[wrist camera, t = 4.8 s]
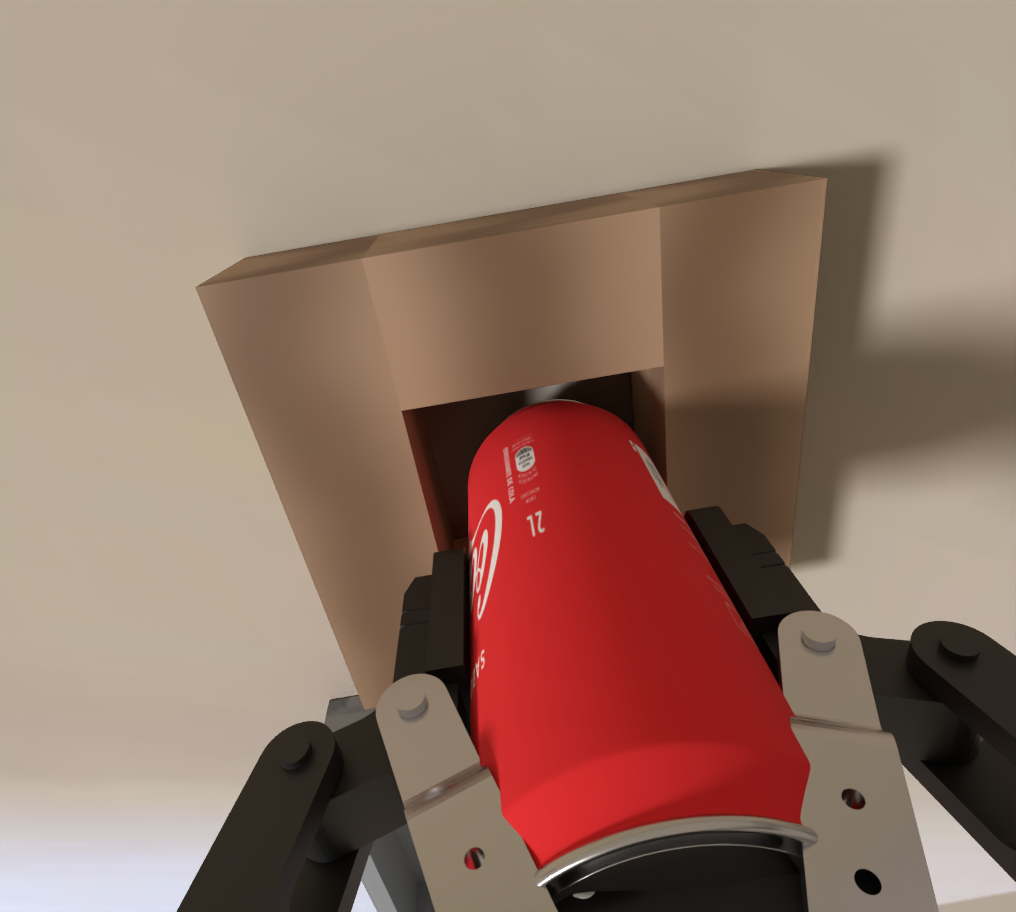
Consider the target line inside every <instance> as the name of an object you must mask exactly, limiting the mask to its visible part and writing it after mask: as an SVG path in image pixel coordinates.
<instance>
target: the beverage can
mask: <svg viewBox="0 0 1016 912" xmlns="http://www.w3.org/2000/svg"><path fill="white" fill-rule="evenodd" d="M468 532H469V613H470V694H471V741H472V743H473V745H474V748H475V750H476V752H477V754H478V756H479V759H480V766H481V767H482V766H484V765H486V766H487V767H488V769H489V771H490V773H491V774H492V776H493V778H494V780H495V783H496V785H497V787H498V789H499V791H500V799H501V812H502V815H503V817H504V818H505V819H506V820H507V822H508V823H509V824H510V825H511V826H512V827H513V828H514V829H515V830H516V832H517V833H518V834H519V835H520V836H521V837H522V839H523V841H524V843H525V845H526V847H527V849H528V851H529V853H530V855H531V857H532V859H533V861H534V863H535V866H536V868H537V871H536V872H535V875H534V880H535V883H536V885H537V886H539V887H544V886H546V888H547V890H548V893H549V895H550V897H551V899H552V901H553V903H554V905H555V904H557V903H558V902H560V901H561V900H563V899H565V898H567V897H569V896H572V895H573V896H574V897H577V898H580V899H586V898H589V897H591V896H592V895H594V893H595V892H604V891H668V890H676V889H684V888H693V887H701V886H710V885H717V884H725V883H732V882H740V881H747V880H754V879H761V878H768V877H775V876H781V875H788V874H794V873H799V864H800V851H799V843H798V841H800V842H803V843H807V844H811V845H813V844H816V843H817V842H818V836H817V834H816V832H815V831H814V830H813V829H811V828H809V827H806V826H804V825H803V824H802V823H801V819H800V817H801V809H802V804H803V799H804V795H805V790H806V786H807V782H808V778H809V774H810V769H811V766H810V762H809V760H808V758H807V757H806V755H805V753H804V751H803V749H802V747H801V745H800V744H799V742H798V740H797V738H796V736H795V734H794V733H793V731H792V729H791V725H790V720H789V717H795V718H796V716H795V714H794V713H793V711H792V709H791V707H790V705H789V704H788V702H787V700H786V698H785V697H784V695H783V692H782V690H781V688H780V686H779V684H778V683H777V681H776V679H775V677H774V676H773V674H772V672H771V670H770V668H769V667H768V665H767V663H766V661H765V660H764V658H763V656H762V654H761V653H760V651H759V649H758V647H757V645H756V644H755V642H754V640H753V638H752V637H751V635H750V633H749V631H748V630H747V628H746V626H745V624H744V623H743V621H742V619H741V617H740V615H739V614H738V612H737V610H736V608H735V607H734V605H733V603H732V601H731V600H730V598H729V596H728V594H727V592H726V591H725V589H724V587H723V585H722V584H721V582H720V580H719V578H718V577H717V575H716V573H715V571H714V570H713V568H712V566H711V564H710V562H709V561H708V559H707V557H706V555H705V554H704V552H703V550H702V548H701V547H700V545H699V543H698V541H697V539H696V538H695V536H694V534H693V532H692V531H691V529H690V527H689V525H688V524H687V522H686V520H685V518H684V517H683V515H682V513H681V511H680V509H679V508H678V506H677V504H676V502H675V501H674V499H673V497H672V495H671V494H670V492H669V490H668V488H667V486H666V485H665V483H664V481H663V479H662V478H661V476H660V474H659V472H658V471H657V469H656V467H655V465H654V464H653V462H652V460H651V458H650V456H649V455H648V453H647V451H646V449H645V448H644V446H643V444H642V442H641V441H640V439H639V438H638V436H637V435H636V433H635V432H634V431H633V430H632V429H631V428H630V427H629V426H628V425H627V424H626V423H625V422H624V421H623V420H621V419H620V418H618V417H617V416H615V415H614V414H612V413H610V412H608V411H606V410H604V409H601V408H599V407H596V406H592V405H588V404H585V403H582V402H578V401H574V400H566V399H552V400H544V401H540V402H536V403H532V404H530V405H527V406H525V407H523V408H521V409H519V410H517V411H515V412H514V413H512V414H511V415H509V416H508V417H507V418H505V419H504V420H503V421H502V422H501V423H500V424H499V425H498V426H497V427H496V429H495V430H493V431H492V433H491V434H490V435H489V436H488V437H487V438H486V439H485V441H484V442H483V443H482V445H481V446H480V448H479V449H478V451H477V453H476V455H475V457H474V459H473V462H472V465H471V468H470V472H469V478H468Z"/></svg>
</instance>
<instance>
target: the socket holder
mask: <svg viewBox="0 0 1016 912" xmlns="http://www.w3.org/2000/svg"><path fill="white" fill-rule="evenodd" d="M826 188H827V178H823V177H815V176H807V175H799V174H790V173H782V172H774V171H766V170H758V169H756V170H750V171H744V172H739V173H733V174H727V175H721V176H715V177H710V178H704V179H698V180H692V181H686V182H681V183H675V184H669V185H663V186H658V187H652V188H646V189H640V190H634V191H629V192H623V193H617V194H611V195H606V196H600V197H594V198H588V199H582V200H577V201H571V202H565V203H559V204H554V205H548V206H542V207H536V208H530V209H525V210H519V211H513V212H507V213H502V214H496V215H490V216H484V217H478V218H473V219H467V220H461V221H455V222H450V223H444V224H438V225H432V226H426V227H421V228H415V229H409V230H403V231H398V232H392V233H386V234H380V235H374V236H369V237H363V238H357V239H351V240H345V241H340V242H334V243H328V244H322V245H317V246H311V247H305V248H299V249H293V250H288V251H282V252H276V253H270V254H265V255H259V256H253V257H247V258H244V259H242V260H241V261H239V262H237V263H236V264H234V265H232V266H230V267H229V268H227V269H225V270H224V271H222V272H220V273H219V274H217V275H215V276H214V277H212V278H210V279H209V280H207V281H205V282H204V283H202V284H200V285H198V286H197V287H196V290H197V292H198V295H199V297H200V300H201V302H202V305H203V307H204V310H205V312H206V315H207V317H208V320H209V322H210V325H211V327H212V330H213V332H214V335H215V337H216V340H217V342H218V345H219V347H220V350H221V352H222V355H223V357H224V360H225V362H226V365H227V367H228V370H229V372H230V375H231V377H232V380H233V382H234V385H235V387H236V390H237V392H238V395H239V397H240V400H241V402H242V405H243V407H244V410H245V412H246V415H247V417H248V420H249V422H250V425H251V427H252V430H253V432H254V435H255V437H256V440H257V442H258V445H259V447H260V450H261V452H262V455H263V457H264V460H265V462H266V465H267V467H268V470H269V472H270V475H271V477H272V480H273V482H274V485H275V487H276V490H277V492H278V495H279V497H280V500H281V502H282V505H283V507H284V510H285V512H286V515H287V517H288V520H289V522H290V525H291V527H292V530H293V532H294V535H295V537H296V540H297V542H298V545H299V547H300V550H301V552H302V555H303V557H304V560H305V562H306V565H307V567H308V570H309V572H310V574H311V577H312V579H313V582H314V584H315V587H316V589H317V592H318V594H319V597H320V599H321V602H322V604H323V607H324V609H325V612H326V614H327V617H328V619H329V622H330V624H331V627H332V629H333V632H334V634H335V637H336V639H337V642H338V644H339V647H340V649H341V652H342V654H343V657H344V659H345V662H346V664H347V667H348V669H349V672H350V674H351V677H352V679H353V682H354V684H355V687H356V689H357V692H358V694H359V697H360V699H361V702H362V704H363V707H364V709H365V710H366V709H372V708H376V707H377V704H378V701H379V699H380V697H381V696H382V694H383V693H384V692H385V690H386V689H387V688H388V687H389V686H391V685H392V683H393V678H394V670H395V662H396V654H397V646H398V638H399V630H400V629H401V627H400V623H401V615H402V607H403V599H404V593H405V592H406V590H407V589H408V587H409V586H410V584H411V583H412V581H413V580H414V578H415V577H420V576H426V575H432V566H433V554H434V552H439V551H445V550H451V549H457V548H463V547H465V549H466V552H467V556H468V560H469V537H463V538H457V539H454V538H453V534H452V530H451V526H450V522H449V518H448V514H447V510H446V505H445V501H444V497H443V493H442V489H441V485H440V481H439V477H438V473H437V468H436V464H435V460H434V456H433V452H432V448H431V444H430V440H429V436H428V431H427V427H426V423H425V419H424V415H423V411H422V407H427V406H433V405H439V404H445V403H451V402H456V401H462V400H468V399H474V398H480V397H486V396H491V395H497V394H503V393H509V392H515V391H521V390H527V389H532V388H538V387H544V386H550V385H556V384H562V383H568V382H573V381H579V380H585V379H591V378H597V377H603V376H609V375H614V374H620V373H626V372H631V380H632V398H633V416H634V432H635V433H636V435H637V436H638V438H639V439H640V441H641V442H642V444H643V446H644V448H645V449H646V451H647V453H648V455H649V456H650V458H651V460H652V462H653V464H654V465H655V467H656V469H657V471H658V472H659V474H660V476H661V478H662V479H663V481H664V483H665V485H666V486H667V488H668V490H669V492H670V494H671V495H672V497H673V499H674V501H675V502H676V504H677V506H678V508H679V509H680V511H681V513H682V515H683V517H684V514H685V511H687V510H693V509H699V508H705V507H711V506H719V507H720V508H721V509H722V511H723V512H724V514H725V515H726V517H727V518H728V519H729V521H730V522H731V524H732V525H736V524H742V523H746V524H748V525H750V526H751V527H753V528H754V529H756V530H757V531H759V532H761V533H762V534H764V535H765V536H766V538H767V539H768V540H769V542H770V543H771V544H772V546H773V547H774V549H775V550H776V553H778V554H779V555H780V557H781V558H782V559H783V561H784V562H785V565H786V566H788V567H789V569H790V561H791V550H792V540H793V530H794V519H795V509H796V499H797V488H798V478H799V468H800V457H801V447H802V436H803V426H804V416H805V405H806V395H807V385H808V374H809V364H810V354H811V343H812V333H813V322H814V312H815V302H816V291H817V281H818V271H819V260H820V250H821V240H822V229H823V219H824V208H825V198H826Z"/></svg>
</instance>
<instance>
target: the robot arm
mask: <svg viewBox="0 0 1016 912" xmlns="http://www.w3.org/2000/svg"><path fill="white" fill-rule="evenodd" d="M684 518H685V520H686V522H687V524H688V525H689V527H690V529H691V531H692V532H693V534H694V536H695V538H696V539H697V541H698V543H699V545H700V547H701V548H702V550H703V552H704V554H705V555H706V557H707V559H708V561H709V562H710V564H711V566H712V568H713V570H714V571H715V573H716V575H717V577H718V578H719V580H720V582H721V584H722V585H723V587H724V589H725V591H726V592H727V594H728V596H729V598H730V600H731V601H732V603H733V605H734V607H735V608H736V610H737V612H738V614H739V615H740V617H741V619H742V621H743V623H744V624H745V626H746V628H747V630H748V631H749V633H750V635H751V637H752V638H753V640H754V642H755V644H756V645H757V647H758V649H759V651H760V653H761V654H762V656H763V658H764V660H765V661H766V663H767V665H768V667H769V668H770V670H771V672H772V674H773V676H774V677H775V679H776V681H777V683H778V684H779V686H780V688H781V690H782V692H783V695H784V697H785V698H786V700H787V702H788V704H789V705H790V707H791V709H792V711H793V713H794V714H795V716H796V718H795V717H789V720H790V725H791V729H792V731H793V733H794V734H795V736H796V738H797V740H798V742H799V744H800V745H801V747H802V749H803V751H804V753H805V755H806V757H807V758H808V760H809V762H810V766H811V769H810V774H809V778H808V782H807V786H806V790H805V795H804V799H803V804H802V809H801V817H800V819H801V823H802V824H803V825H804V826H806V827H809V828H811V829H813V830H814V831H815V832H816V834H817V836H818V842H817V843H816V844H813V845H811V844H807V843H803V842H800V841H798V843H799V851H800V864H799V873H794V874H788V875H781V876H775V877H768V878H761V879H754V880H747V881H740V882H732V883H725V884H717V885H710V886H701V887H693V888H684V889H676V890H668V891H604V892H595V893H594V895H592V896H591V897H589V898H586V899H580V898H577V897H574V896H573V895H572V896H569V897H567V898H565V899H563V900H561V901H560V902H558V903H557V904H555V905H554V903H553V901H552V899H551V897H550V895H549V893H548V890H547V888H546V886H544V887H539V886H537V885H536V883H535V880H534V875H535V872H536V871H537V868H536V866H535V863H534V861H533V859H532V857H531V855H530V853H529V851H528V849H527V847H526V845H525V843H524V841H523V839H522V837H521V836H520V835H519V834H518V833H517V832H516V830H515V829H514V828H513V827H512V826H511V825H510V824H509V823H508V822H507V820H506V819H505V818H504V817H503V815H502V812H501V799H500V791H499V789H498V787H497V785H496V783H495V780H494V778H493V776H492V774H491V773H490V771H489V769H488V767H487V766H486V765H484V766H482V767H481V766H480V759H479V756H478V754H477V752H476V750H475V748H474V745H473V743H472V741H471V694H470V613H469V560H468V556H467V552H466V549H465V547H463V548H457V549H451V550H445V551H439V552H434V554H433V566H432V575H426V576H420V577H415V578H414V580H413V581H412V583H411V584H410V586H409V587H408V589H407V590H406V592H405V593H404V599H403V607H402V615H401V623H400V627H401V629H400V630H399V638H398V646H397V654H396V662H395V670H394V678H393V683H392V685H391V686H389V687H388V688H387V689H386V690H385V692H384V693H383V694H382V696H381V697H380V699H379V701H378V704H377V707H376V710H374V711H373V712H372V713H371V714H369V715H368V716H366V717H364V718H362V719H361V720H359V721H356V722H354V723H352V724H350V725H348V726H346V727H343V728H341V729H339V730H337V731H335V732H332V731H331V729H330V728H329V727H328V726H327V725H325V724H323V723H320V722H316V721H307V722H302V723H298V724H295V725H293V726H291V727H289V728H287V729H285V730H284V731H282V732H281V733H279V734H278V735H277V736H276V737H275V738H274V739H273V740H272V741H271V742H270V743H269V744H268V745H267V746H266V748H265V749H264V751H263V753H262V754H261V756H260V758H259V760H258V762H257V764H256V765H255V767H254V769H253V771H252V773H251V775H250V777H249V778H248V780H247V782H246V784H245V786H244V788H243V789H242V791H241V793H240V795H239V797H238V799H237V801H236V802H235V804H234V806H233V808H232V810H231V812H230V814H229V815H228V817H227V819H226V821H225V823H224V825H223V827H222V828H221V830H220V832H219V834H218V836H217V838H216V840H215V841H214V843H213V845H212V847H211V849H210V851H209V853H208V854H207V856H206V858H205V860H204V862H203V864H202V866H201V867H200V869H199V871H198V873H197V875H196V877H195V878H194V880H193V882H192V884H191V886H190V888H189V890H188V891H187V893H186V895H185V897H184V899H183V901H182V903H181V904H180V906H179V908H178V910H177V912H351V909H352V906H353V903H354V900H355V897H356V894H357V891H358V888H359V885H360V882H361V879H362V876H363V872H364V869H365V866H366V863H367V860H368V857H369V854H370V851H371V848H372V845H373V841H375V840H377V839H379V838H381V837H383V836H384V835H386V834H388V833H390V832H392V831H394V830H396V829H398V828H400V827H402V826H404V825H406V824H408V827H409V830H410V833H411V836H412V839H413V843H414V846H415V849H416V852H417V855H418V858H419V862H420V865H421V868H422V871H423V874H424V877H425V881H426V884H427V887H428V890H429V893H430V896H431V900H432V903H433V906H434V909H435V912H939V910H938V906H937V902H936V898H935V894H934V890H933V886H932V882H931V878H930V875H929V871H928V867H927V863H926V859H925V855H924V851H923V847H922V843H921V839H920V835H919V831H918V827H917V823H916V819H915V815H914V811H913V807H912V803H911V799H910V795H909V791H908V787H907V783H906V779H905V776H904V772H903V768H902V765H903V766H904V767H905V768H906V769H907V770H908V771H909V772H910V773H911V774H912V775H913V776H914V777H915V778H916V779H917V780H918V781H919V782H920V783H921V784H922V785H923V786H924V787H925V788H926V789H927V790H928V791H929V793H930V794H931V795H932V796H933V797H934V798H935V799H936V800H937V801H938V802H939V803H940V804H941V805H942V806H943V807H944V808H945V809H946V810H947V811H948V812H949V813H950V814H951V815H952V816H953V817H954V818H955V820H956V821H957V822H958V823H959V824H960V825H961V826H962V827H963V828H964V829H965V830H966V831H967V832H968V833H969V834H970V835H971V836H972V837H973V838H974V839H975V840H976V841H977V842H978V843H979V844H980V845H981V846H982V848H983V849H984V850H985V851H986V852H987V853H988V854H989V855H990V856H991V857H992V858H993V859H994V860H995V861H996V862H997V863H998V864H999V865H1000V866H1001V867H1002V868H1003V869H1004V870H1005V871H1006V872H1007V873H1008V875H1009V876H1010V877H1011V878H1012V879H1013V880H1014V881H1015V882H1016V656H1015V655H1014V654H1012V653H1011V652H1010V651H1008V650H1007V649H1005V648H1004V647H1003V646H1001V645H1000V644H998V643H997V642H996V641H994V640H993V639H991V638H990V637H988V636H987V635H985V634H984V633H982V632H980V631H978V630H976V629H974V628H971V627H969V626H966V625H963V624H959V623H954V622H947V621H933V622H928V623H924V624H922V625H920V626H918V627H917V628H916V629H915V630H914V631H913V633H912V636H911V639H910V641H906V640H895V639H884V638H873V637H866V636H862V635H858V634H857V633H856V631H855V630H854V629H853V628H852V627H851V626H850V625H849V624H847V623H846V622H844V621H843V620H841V619H840V618H838V617H836V616H833V615H830V614H828V613H824V612H821V611H820V609H819V608H818V607H817V605H816V604H815V603H814V601H813V600H812V599H811V597H810V596H809V595H808V593H807V592H806V590H805V589H804V588H803V586H802V585H801V584H800V582H799V581H798V580H797V578H796V577H795V576H794V574H793V573H792V572H791V570H790V569H789V567H788V566H786V565H785V562H784V561H783V559H782V558H781V557H780V555H779V554H778V553H776V550H775V549H774V547H773V546H772V544H771V543H770V542H769V540H768V539H767V538H766V536H765V535H764V534H762V533H761V532H759V531H757V530H756V529H754V528H753V527H751V526H750V525H748V524H746V523H742V524H736V525H732V524H731V522H730V521H729V519H728V518H727V517H726V515H725V514H724V512H723V511H722V509H721V508H720V507H719V506H711V507H705V508H699V509H693V510H687V511H685V514H684ZM901 763H902V764H901Z"/></svg>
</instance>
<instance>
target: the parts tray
mask: <svg viewBox="0 0 1016 912" xmlns="http://www.w3.org/2000/svg"><path fill="white" fill-rule="evenodd" d="M374 710H376V708H372V709H366V710H365V709H364V707H363V704H362V702H361V699H360V697H359V696H353V697H347V698H341V699H335V700H330V701H329V705H328V710H327V714H326V719H325V723H324V724H325V725H327V726H328V727H329V728H330V729H331V731H332V732H335V731H337V730H339V729H341V728H343V727H346V726H348V725H350V724H352V723H354V722H356V721H359V720H361V719H362V718H364V717H366V716H368V715H369V714H371V713H372V712H373V711H374ZM361 881H362V882H363V884H364V886H365V888H366V890H367V892H368V894H369V896H370V898H371V900H372V902H373V904H374V906H375V908H376V910H377V912H435V909H434V906H433V903H432V900H431V896H430V893H429V890H428V887H427V884H426V881H425V877H424V874H423V871H422V868H421V865H420V862H419V858H418V855H417V852H416V849H415V846H414V843H413V839H412V836H411V833H410V830H409V827H408V824H406V825H404V826H402V827H400V828H398V829H396V830H394V831H392V832H390V833H388V834H386V835H384V836H383V837H381V838H379V839H377V840H375V841H373V845H372V848H371V851H370V854H369V857H368V860H367V863H366V866H365V869H364V872H363V876H362V879H361Z"/></svg>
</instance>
